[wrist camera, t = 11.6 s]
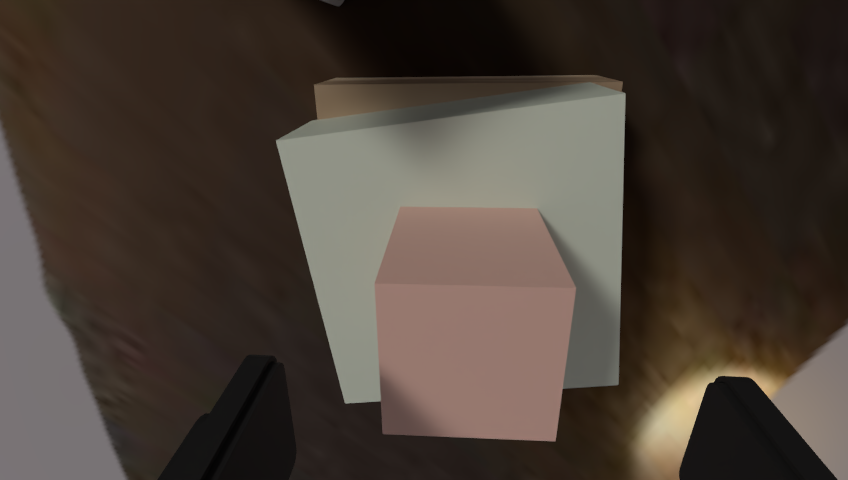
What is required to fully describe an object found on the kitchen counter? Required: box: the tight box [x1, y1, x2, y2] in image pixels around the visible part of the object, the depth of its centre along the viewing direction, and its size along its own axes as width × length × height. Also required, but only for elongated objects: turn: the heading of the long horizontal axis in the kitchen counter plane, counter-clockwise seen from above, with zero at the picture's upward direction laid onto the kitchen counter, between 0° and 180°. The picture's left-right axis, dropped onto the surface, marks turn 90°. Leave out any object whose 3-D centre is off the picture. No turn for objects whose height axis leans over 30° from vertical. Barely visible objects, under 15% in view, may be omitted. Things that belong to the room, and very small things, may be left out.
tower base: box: [314, 75, 623, 120], centre depth 24 cm, size 13×13×4 cm
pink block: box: [374, 207, 576, 441], centre depth 15 cm, size 5×5×6 cm
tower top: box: [276, 82, 625, 403], centre depth 20 cm, size 12×12×4 cm
